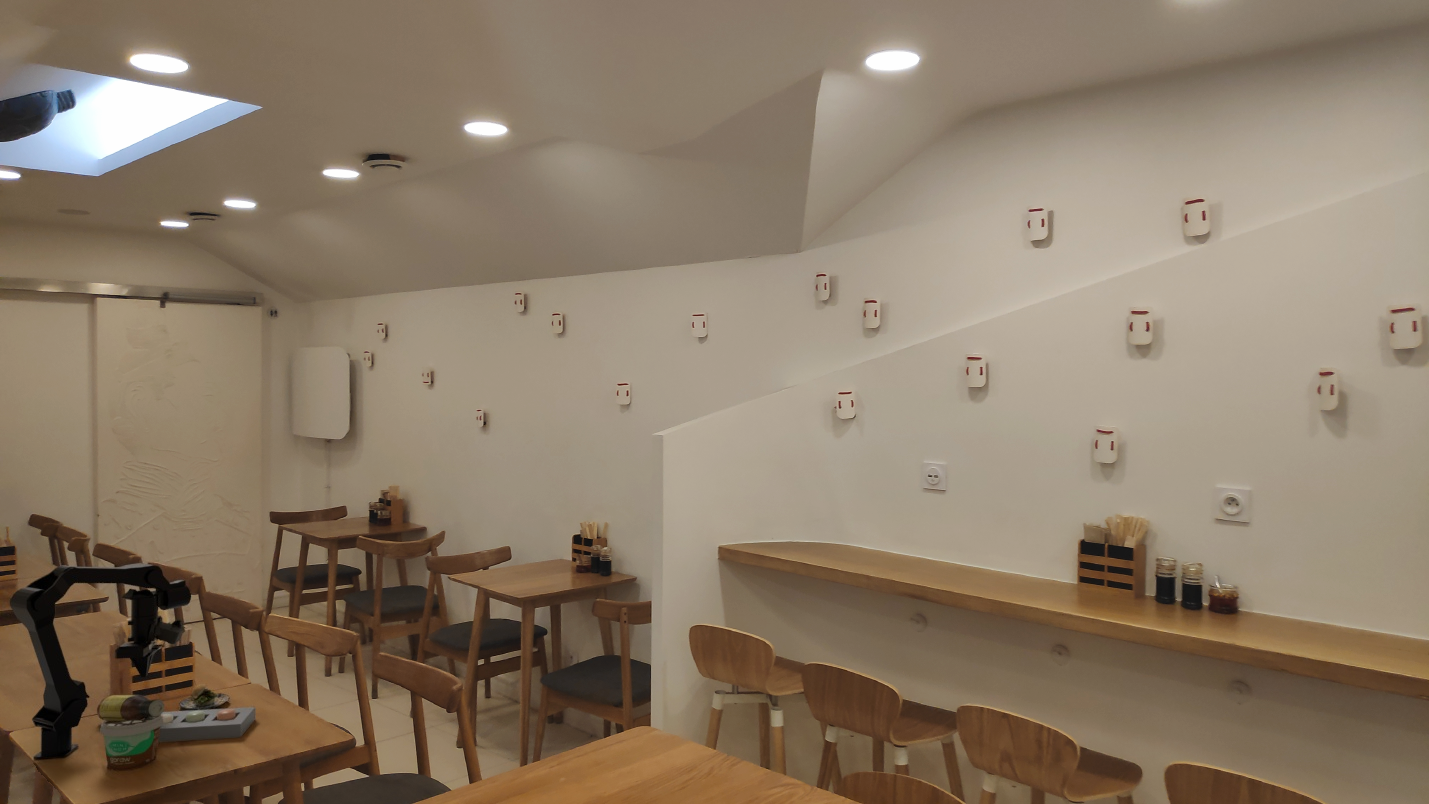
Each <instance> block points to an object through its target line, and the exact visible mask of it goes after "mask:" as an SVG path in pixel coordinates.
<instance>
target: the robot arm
mask: <svg viewBox="0 0 1429 804" xmlns="http://www.w3.org/2000/svg"><path fill="white" fill-rule="evenodd" d="M186 583H187V582H186V580H185V579H178V580H174V581H172V582H169V580H168V579H167V578H166V577H165V576H164V572H163V570H162V567H160V566H159V565H155V564H148V563H141V562H138V563H131V564H126V565H121V566H117V567H110V566H70V565H65V564H64V565H59V566H57V567H55V568H54V569H53V570H51V571H50V572H49V573H47V574H45V575H43V576H41V577H39V578H38V579H35V580H34V581H32V582H30V583H29V584H28V585H26V586H25V587H22V588H19V589H18V590H16V591H15V592H14V593H13V594H12V596H11V598H10V599H9V606H10V609H11V610H12V612H13V614H14V615H15V617H16V618H17V620H18V621H19V622H20V623H22V625H23V626H24V627H25V628H26V630H27V631H28V635H29V637H30V641H31V643H32V646H33V649H34V652H35V656H36V658H37V662H38V664H39V668H40V670H41V673H42V676H43V680H44V683H45V687H44V691H43V705H42V706H41V707H40V709H39V710H38V711H37V712H36V714H35V715H33V716H32V718H31V721H32V723H33V725H34V726H35V727H38V728H40V751H38V753H36V754H35V755H34V756H33V759H34V760H36V759H37V760H38V759H40V760H41V759H53V758H56V759H57V758H64V757H67V756H68V755H69V754H71V753H73V751H75V750H76V749H77V748H78V747H79V744H76V743H75V744H72V742H73V741H72V739H73V738H72V737H73V736H72V735H73V733H72V732H73V728H76V727H78V726H79V724H80V721H81V718H82V716H83V713H84V712H85V711H86V708H87V707H88V704H89V703H88V699H89V698H91V697H90V695H89V694H88V693H87V689H86V684H85V682H84V681H81V680H75V679H73V678H72V677H71V675H70V671H69V669H68V665H67V661H66V659H65V655H64V653H63V650H62V646H61V644H60V643H61V642H60V641H59V637H58V635H57V634H58V633H57V630H56V628H55V624H54V620H55V616H56V613H57V609H56V603H57V602H59V601H60V600H61V599H62V598H64V596H65V595H66V593H67V592H68V591H69V589H70V588H71V587H72V586H74V584H120V585H121V584H122V585H126V586H132V587H138V588H143V589H139V590H137V589H135V588H134V589H133V588H129V589H128V590H127V592H125V593H124V594H123V595H122V596H121V599H122V600H129V601H130V603H131V607H130V611H131V612H130V620H128V621H127V626H130V636H129V637H127V642H125V643H122V644H121V645H119V646H118V647H117V648H116V649H115V650H114V659H130V661H131V662H132V664H133V666H134V667H135V669H136V671H137V672H138V673H139V675H140V677H142V678H146V677H147V676H148V674H149V671H150V668H151V666H152V662H153V659H154V656H155V653H157V651H158V650H159V649H161V648H162V647H163V644H157V640H159V641H162V642H166V643H167V644H169V645H176V644H177V643H178V642H180V641H181V639H182V636H183V634H184V633H185V632H186V629H185V628H186V627H185V625H184V620H181V619H178V618H177V619H175V620H174V621H172V622H164V621H163V617H162V615H159V609H160V610H161V611H168V610H172V609H173V610H174V609H177V608H181V607H186V606H189V604H190V603H191V600H192V593H191V591H190V589H189V586H188V585H186ZM150 589H153V590H152V591H151V590H150Z"/></svg>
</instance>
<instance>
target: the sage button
mask: <svg viewBox="0 0 1429 804" xmlns="http://www.w3.org/2000/svg"><path fill="white" fill-rule="evenodd" d="M204 719H205V712H204V711H193V712H189V713H187V714H186V722H199V721H203V720H204Z"/></svg>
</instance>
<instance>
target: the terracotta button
mask: <svg viewBox="0 0 1429 804" xmlns="http://www.w3.org/2000/svg"><path fill="white" fill-rule="evenodd" d="M224 709H225V710H221V711H219V712H217V720H234V719H235V710H234V709H228V708H224Z"/></svg>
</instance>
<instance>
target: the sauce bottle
mask: <svg viewBox="0 0 1429 804" xmlns="http://www.w3.org/2000/svg"><path fill="white" fill-rule="evenodd" d="M164 710H165V703H164V701H163V700H161V699H157V698H156V699H149V698H148V697H147V696H145V695H142V694H115V695H114V694H112V695H109V696H106V697H103V699H101V701H100V702H99V703H98V705H97V708H96V713H97V716H98V718H99V719H100V720H102V721H103V720H104V719H105V722H123V721H127V720H143V719H144V718H145V717H147V716H150V717H157V716H159V715H161V714H162V713H163V712H165V711H164Z"/></svg>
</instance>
